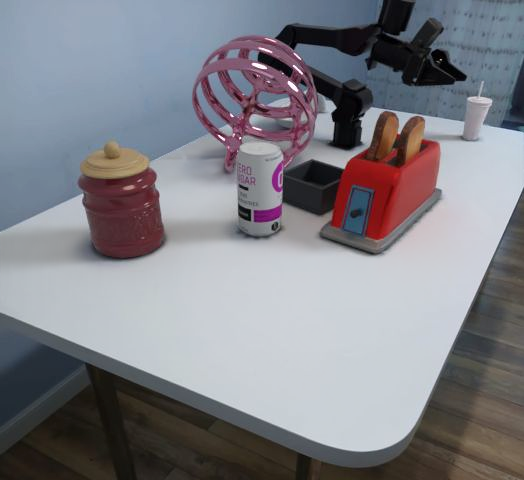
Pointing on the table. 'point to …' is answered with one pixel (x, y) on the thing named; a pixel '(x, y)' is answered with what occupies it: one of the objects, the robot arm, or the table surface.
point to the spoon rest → (289, 122)
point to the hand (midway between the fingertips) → (460, 80)
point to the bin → (312, 186)
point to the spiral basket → (250, 103)
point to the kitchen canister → (121, 202)
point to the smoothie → (475, 115)
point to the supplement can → (259, 187)
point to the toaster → (385, 186)
